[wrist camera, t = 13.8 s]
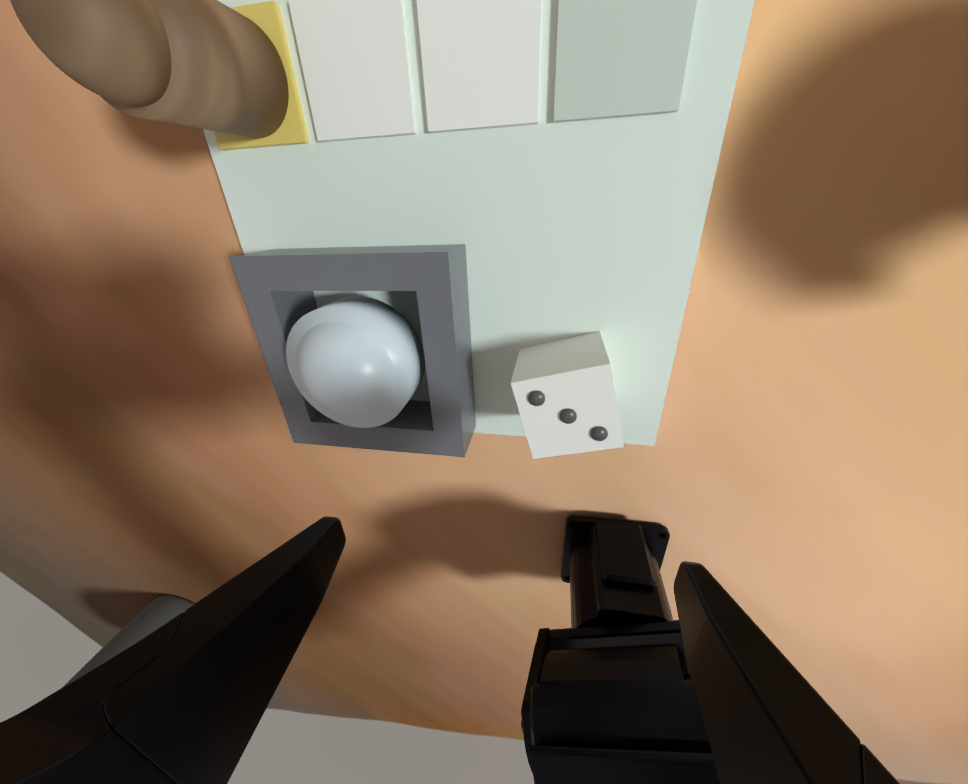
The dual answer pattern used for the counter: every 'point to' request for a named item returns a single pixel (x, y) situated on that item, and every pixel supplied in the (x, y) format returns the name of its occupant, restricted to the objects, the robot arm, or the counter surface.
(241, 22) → the pawn
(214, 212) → the counter surface
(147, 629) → the mug
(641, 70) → the board
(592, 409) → the die
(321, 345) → the dome
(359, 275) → the base
